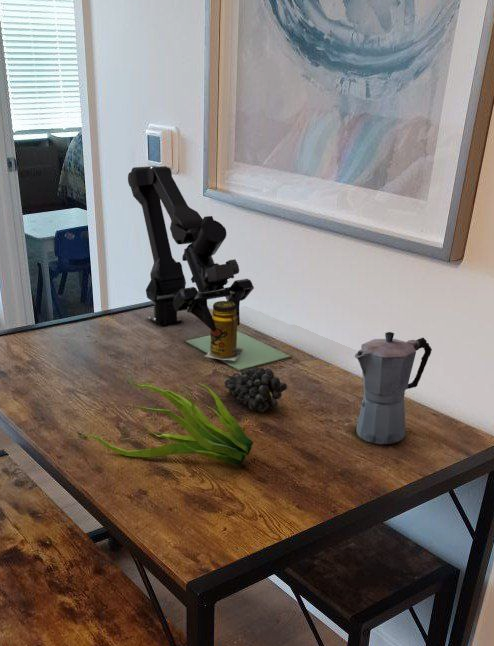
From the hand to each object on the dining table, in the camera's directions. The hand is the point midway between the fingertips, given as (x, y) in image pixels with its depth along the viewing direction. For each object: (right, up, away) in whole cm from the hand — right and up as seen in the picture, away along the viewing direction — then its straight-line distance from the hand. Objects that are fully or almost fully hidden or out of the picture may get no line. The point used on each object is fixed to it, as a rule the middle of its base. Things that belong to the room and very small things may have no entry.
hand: (226, 328), depth 160 cm
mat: (+3, -3, +10) cm, 11 cm away
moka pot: (+28, -25, -27) cm, 47 cm away
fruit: (+5, -19, -16) cm, 25 cm away
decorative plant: (-13, -30, -35) cm, 48 cm away
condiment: (0, -5, +5) cm, 7 cm away
